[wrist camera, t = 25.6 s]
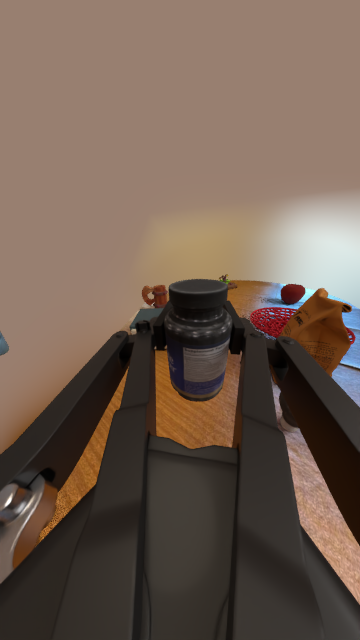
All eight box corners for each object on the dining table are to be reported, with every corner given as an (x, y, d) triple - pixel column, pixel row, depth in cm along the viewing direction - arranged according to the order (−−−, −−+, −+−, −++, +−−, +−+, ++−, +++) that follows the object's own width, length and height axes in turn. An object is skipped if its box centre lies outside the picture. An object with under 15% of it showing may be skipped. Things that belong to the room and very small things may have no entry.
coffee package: (309, 365, 38) (351, 288, 28) (322, 403, 28) (392, 309, 18) (268, 353, 42) (291, 284, 32) (268, 383, 33) (299, 299, 23)
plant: (221, 290, 110) (223, 276, 105) (208, 286, 126) (209, 273, 121) (240, 287, 116) (242, 274, 111) (225, 283, 133) (227, 271, 127)
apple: (273, 300, 84) (279, 281, 79) (290, 299, 84) (297, 280, 78) (286, 307, 74) (293, 286, 69) (305, 306, 74) (314, 285, 69)
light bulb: (273, 405, 29) (289, 372, 24) (308, 427, 25) (333, 393, 20) (265, 426, 25) (280, 393, 21) (303, 455, 22) (332, 423, 17)
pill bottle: (171, 360, 18) (162, 279, 13) (214, 357, 18) (222, 275, 13) (170, 407, 13) (154, 298, 8) (232, 402, 13) (256, 292, 8)
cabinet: (171, 348, 47) (168, 324, 43) (135, 350, 47) (129, 326, 43) (172, 327, 61) (170, 307, 56) (144, 328, 61) (140, 309, 56)
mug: (168, 306, 85) (166, 282, 78) (170, 310, 78) (168, 285, 71) (145, 309, 82) (140, 284, 75) (145, 314, 75) (140, 288, 68)
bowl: (288, 367, 37) (295, 354, 35) (234, 320, 63) (236, 311, 61) (375, 353, 40) (386, 339, 38) (290, 314, 66) (293, 304, 64)
